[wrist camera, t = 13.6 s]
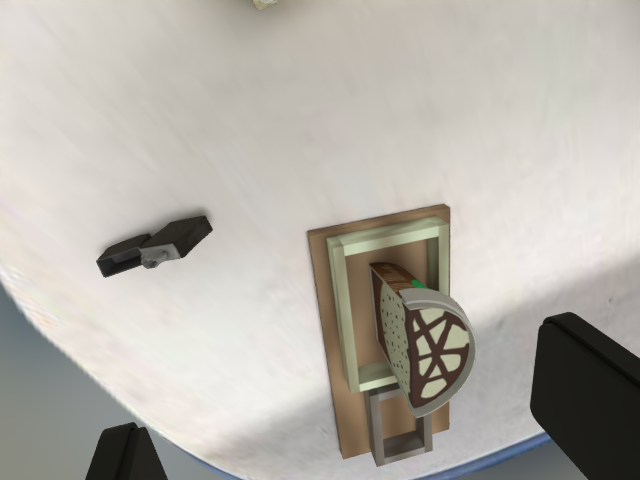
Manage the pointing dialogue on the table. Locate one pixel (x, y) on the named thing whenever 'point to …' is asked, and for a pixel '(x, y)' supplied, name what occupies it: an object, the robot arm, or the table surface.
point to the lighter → (155, 246)
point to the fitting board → (359, 327)
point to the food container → (421, 337)
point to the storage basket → (263, 3)
